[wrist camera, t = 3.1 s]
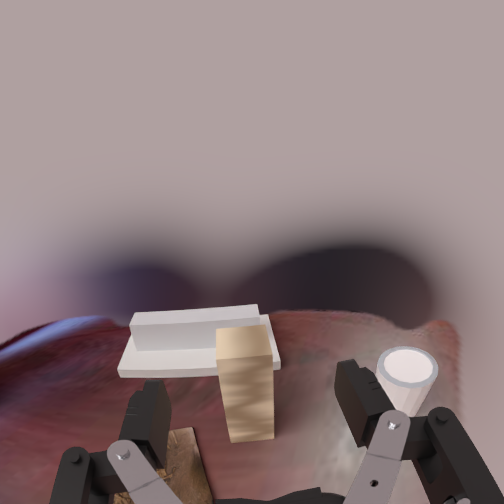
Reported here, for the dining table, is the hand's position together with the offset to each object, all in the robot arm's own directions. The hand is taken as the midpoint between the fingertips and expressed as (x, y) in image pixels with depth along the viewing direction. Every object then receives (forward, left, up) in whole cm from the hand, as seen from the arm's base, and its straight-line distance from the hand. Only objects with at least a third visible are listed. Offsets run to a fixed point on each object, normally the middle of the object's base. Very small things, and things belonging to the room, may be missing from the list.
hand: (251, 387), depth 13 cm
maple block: (-4, +11, -17) cm, 21 cm away
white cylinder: (+12, +15, -18) cm, 26 cm away
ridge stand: (-15, +23, -17) cm, 32 cm away
